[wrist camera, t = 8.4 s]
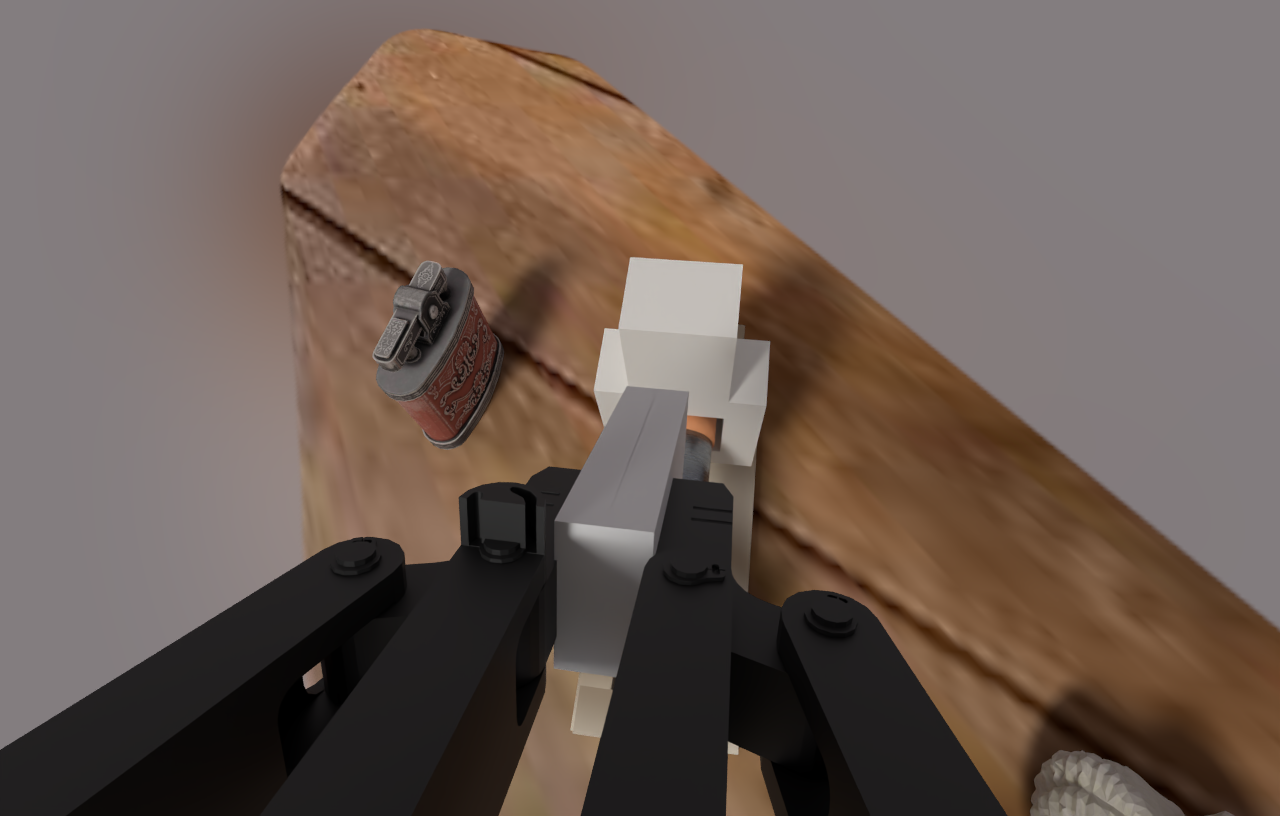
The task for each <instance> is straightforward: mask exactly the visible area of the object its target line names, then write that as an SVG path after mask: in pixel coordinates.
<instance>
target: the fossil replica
mask: <svg viewBox="0 0 1280 816" xmlns="http://www.w3.org/2000/svg"><path fill="white" fill-rule="evenodd" d="M1034 783H1035V787H1036V790H1035V791H1034V793H1033V794H1032V797H1031V802H1032V803H1033V806H1032V808H1031V809H1030V814H1031V816H1185V815H1184V813H1183V812H1182V810H1181V809H1180V808H1179V807H1178V806H1177V805H1176V804H1174V803H1173V802H1172V801H1169V800H1168V799H1166V798H1165V797H1163V796H1162V795H1160V794H1159V793H1158V792H1157V791H1155V790H1154V789H1153V788H1152V787H1151V786H1150V785H1149V784H1148V783H1147V782H1146V781H1144V780H1143V779H1142V778H1141V777H1140V776H1139V775H1138V774H1136V773H1135V772H1134V771H1132V770H1131V769H1130V768H1128V767H1127V766H1122V765H1120V764H1119V763H1116V762H1113V761H1111V760H1106V759H1102V758H1101V757H1099V756H1098V755H1096V754H1094V753H1086V752H1084V751H1083V750H1081V751H1073V752H1068V751H1063V750H1059V751H1058V752H1056V753H1055V754H1053V755H1052V759H1049V760H1047V761H1046V762H1044V763H1043V764H1042V768H1041V772H1040V773H1039V774H1037V775H1036V777H1035V779H1034ZM1206 816H1234V815H1232V814H1231V813H1229V812H1227V811H1222V812H1219V813H1216V814H1213V815H1206Z"/></svg>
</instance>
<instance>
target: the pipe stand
mask: <svg viewBox="0 0 1280 816" xmlns="http://www.w3.org/2000/svg"><path fill="white" fill-rule="evenodd" d="M744 334H745V325H738V331H737V339H744ZM716 422H717V418H711V417H700V416H689V415H687V426H686V439H685V452H684V465H683V478H682V479H687V480H696V481H706V482H715V483H723V484H724V485H725V486H726V487H727V489H728V490H729V491H730V493H731V494H732V495H733V497H734V499H733V529H732V560H731V569H732V575H733V577H734V579H735V580H736V582H737V583H738V584H739V585H740V586H741V587H742V588H743V589H744V590H745V591H746V592H748V584H749V568H750V551H751V535H752V519H753V502H754V486H755V470H756V453H757V445H756V449H755V453H754V457H753V461H752V465H751V466H741V465H731V464H721V463H711V452H712V448H713V447H714V444H715V433H716ZM615 680H616V677H610V676H603V675H596V674H589V673H582V672H580V673H579V679H578V685H577V692H576V698H575V705H574V711H573V717H572V724H571V730H573V734H580V735H587V736H593V737H600V738H601V735H602V731H603V727H604V723H605V719H606V715H607V711H608V707H609V703H610V699H611V695H612V692H613V688H614V684H615ZM738 748H739V746H737V745H735V744H732V743H730V742H728V754H735V755H738Z"/></svg>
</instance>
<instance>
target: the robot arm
mask: <svg viewBox="0 0 1280 816" xmlns="http://www.w3.org/2000/svg"><path fill="white" fill-rule="evenodd" d="M688 399H689V392H688V391H677V390H666V389H655V388H644V387H633V386H627V387H626V389H625V390H624V392H623V394H622V396H621V398H620V400H619V402H618V403H617V405H616V407H615V409H614V411H613V413H612V415H611V416H610V418H609V420H608V422H607V424H606V426H605V428H604V429H603V431H602V433H601V435H600V437H599V439H598V441H597V442H596V444H595V446H594V448H593V450H592V452H591V454H590V455H589V457H588V459H587V461H586V463H585V465H584V467H583V468H582V470H576V469H567V468H558V467H547V468H546V469H544V470H542V471H540V472H539V473H537V474H535V475H533V476H532V477H531V478H530V480H529V481H528V482H527V484H526V485H524V484H520V483H511V482H497V483H491V484H485V485H481V486H478V487H475V488H473V489H470V490H468V491H466V492H465V493H464V494H462V495H461V496H460V497H459V511H460V530H461V546H460V547H459V549H458V550H457V551H456V553H455V554H454V555H453V557H452V558H451V559H450V561H444V562H437V563H424V564H410V565H405V556H404V552H403V550H402V548H401V547H400V545H399V544H397V543H395V542H393V541H391V540H389V539H382V538H375V537H365V538H363V537H359V538H353V539H351V540H347V541H343V542H339V543H336V544H334V545H332V546H330V547H328V548H326V549H324V550H322V551H320V552H319V553H317V554H315V555H314V556H312V557H310V558H309V559H307V560H306V561H304V562H302V563H301V564H300V565H298V566H296V567H295V568H293V569H291V570H290V571H288V572H286V573H285V574H283V575H282V576H280V577H278V578H277V579H275V580H273V581H272V582H270V583H269V584H267V585H266V586H264V587H262V588H260V589H259V590H257V591H256V592H254V593H252V594H251V595H249V596H248V597H246V598H244V599H243V600H241V601H240V602H238V603H236V604H235V605H233V606H232V607H230V608H228V609H227V610H225V611H223V612H222V613H220V614H219V615H217V616H216V617H214V618H212V619H211V620H209V621H207V622H206V623H204V624H203V625H201V626H199V627H198V628H196V629H194V630H193V631H191V632H190V633H188V634H187V635H185V636H183V637H182V638H180V639H178V640H177V641H175V642H174V643H172V644H170V645H169V646H167V647H165V648H164V649H162V650H161V651H159V652H157V653H156V654H154V655H153V656H151V657H149V658H148V659H146V660H144V661H143V662H141V663H140V664H138V665H136V666H135V667H133V668H132V669H130V670H129V671H127V672H125V673H123V674H122V675H120V676H119V677H117V678H116V679H114V680H112V681H111V682H109V683H107V684H106V685H104V686H103V687H101V688H99V689H98V690H96V691H94V692H93V693H91V694H90V695H88V696H86V697H85V698H83V699H82V700H80V701H79V702H77V703H75V704H74V705H72V706H70V707H69V708H67V709H66V710H64V711H62V712H61V713H59V714H57V715H56V716H54V717H53V718H51V719H49V720H48V721H46V722H45V723H43V724H41V725H40V726H38V727H37V728H35V729H33V730H32V731H30V732H29V733H27V734H25V735H24V736H22V737H20V738H19V739H17V740H15V741H14V742H12V743H11V744H9V745H7V746H6V747H4V748H3V749H1V750H0V816H498V815H499V813H500V810H501V807H502V805H503V802H504V799H505V797H506V794H507V792H508V789H509V786H510V784H511V781H512V778H513V776H514V773H515V770H516V768H517V765H518V762H519V760H520V757H521V754H522V752H523V749H524V746H525V744H526V741H527V738H528V736H529V733H530V730H531V728H532V725H533V722H534V720H535V717H536V714H537V712H538V709H539V706H540V704H541V701H542V699H543V696H544V693H545V686H546V662H547V660H548V657H549V655H550V652H551V650H552V647H553V645H554V668H555V669H562V670H569V671H575V672H582V673H589V674H596V675H603V676H610V677H616V680H615V684H614V688H613V692H612V695H611V699H610V703H609V707H608V711H607V715H606V719H605V723H604V727H603V731H602V735H601V738H600V742H599V746H598V750H597V754H596V758H595V762H594V766H593V770H592V774H591V778H590V782H589V785H588V789H587V793H586V797H585V801H584V805H583V809H582V813H581V816H726V793H727V761H728V742H730V743H732V744H735V745H737V746H739V747H741V748H744V749H746V750H748V751H750V752H752V753H755V754H757V755H759V756H760V761H761V770H762V774H763V777H764V780H765V784H766V787H767V790H768V793H769V797H770V800H771V803H772V807H773V810H774V813H775V816H1007V814H1006V813H1005V811H1004V810H1003V808H1002V807H1001V805H1000V804H999V802H998V800H997V799H996V797H995V796H994V794H993V793H992V791H991V790H990V788H989V787H988V785H987V784H986V782H985V781H984V779H983V778H982V776H981V775H980V773H979V772H978V770H977V769H976V767H975V766H974V764H973V763H972V761H971V759H970V758H969V756H968V755H967V753H966V752H965V750H964V749H963V747H962V746H961V744H960V743H959V741H958V740H957V738H956V737H955V735H954V734H953V732H952V731H951V729H950V728H949V726H948V725H947V723H946V722H945V720H944V718H943V717H942V715H941V714H940V712H939V711H938V709H937V708H936V706H935V705H934V703H933V702H932V700H931V699H930V697H929V696H928V694H927V693H926V691H925V690H924V688H923V687H922V685H921V684H920V682H919V681H918V679H917V677H916V676H915V674H914V673H913V671H912V670H911V668H910V667H909V665H908V664H907V662H906V661H905V659H904V658H903V656H902V655H901V653H900V652H899V650H898V649H897V647H896V646H895V644H894V643H893V641H892V640H891V638H890V636H889V635H888V633H887V632H886V630H885V629H884V627H883V626H882V624H881V623H880V621H879V620H878V618H877V617H876V616H875V615H874V614H873V613H872V612H871V611H870V610H869V609H868V608H867V607H866V606H864V605H862V604H861V603H859V602H857V601H855V600H854V599H852V598H850V597H847V596H844V595H842V594H838V593H835V592H830V591H820V590H811V591H804V592H798V593H796V594H794V595H792V596H791V597H789V598H787V599H786V601H785V602H784V604H783V606H782V607H779V606H776V605H773V604H770V603H767V602H765V601H763V600H760V599H758V598H756V597H754V596H753V595H751V594H749V593H748V592H746V591H745V590H744V589H743V588H742V587H741V586H740V585H739V584H738V583H737V582H736V580H735V579H734V577H733V575H732V569H731V560H732V529H733V499H734V497H733V495H732V494H731V493H730V491H729V490H728V489H727V487H726V486H725V485H724V484H723V483H715V482H706V481H696V480H687V479H682V478H683V465H684V452H685V439H686V426H687V412H688ZM319 662H321V667H322V674H323V678H322V679H321V680H319V681H318V682H317V683H316V684H315V685H313V686H311V687H309V688H307V689H305V687H304V684H303V677H302V676H303V675H304V674H306V673H307V672H308V671H309V670H311V669H312V668H313V667H314V666H316V665H317V664H318V663H319Z"/></svg>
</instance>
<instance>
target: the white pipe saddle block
mask: <svg viewBox="0 0 1280 816" xmlns="http://www.w3.org/2000/svg"><path fill="white" fill-rule="evenodd" d="M742 269H743V265H740V264H725V263H710V262H694V261H679V260H664V259H649V258H633V257H630V263H629V269H628V275H627V281H626V287H625V293H624V299H623V305H622V311H621V317H620V323H619V329H607V328H605V330H604V336H603V342H602V347H601V353H600V359H599V364H598V370H597V376H596V381H595V387H594V393H595V397H596V400H597V404H598V407H599V411H600V414H601V418H602V421H603V425H604V428H605V426H606V424H607V422H608V420H609V418H610V416H611V415H612V413H613V411H614V409H615V407H616V405H617V403H618V402H619V400H620V398H621V396H622V394H623V392H624V390H625V389H626V387H627V386H633V387H644V388H655V389H666V390H677V391H688V392H689V399H688V412H687V415H689V416H700V417H711V418H717V422H716V433H715V444H714V447H713V448H712V452H711V463H721V464H731V465H741V466H751V465H752V461H753V457H754V453H755V449H756V445H757V441H758V437H759V433H760V430H761V426H762V422H763V418H764V414H765V410H766V404H767V387H768V369H769V351H770V341H761V340H749V339H737V331H738V319H739V306H740V294H741V281H742Z"/></svg>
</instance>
